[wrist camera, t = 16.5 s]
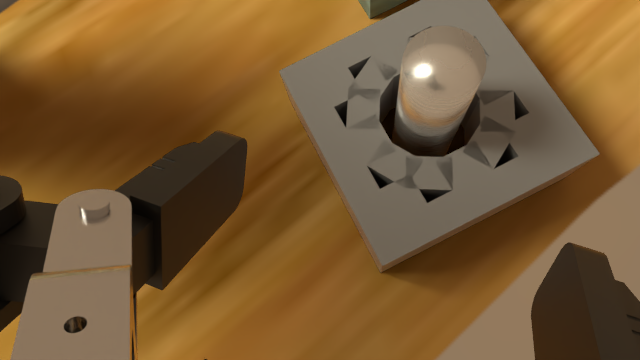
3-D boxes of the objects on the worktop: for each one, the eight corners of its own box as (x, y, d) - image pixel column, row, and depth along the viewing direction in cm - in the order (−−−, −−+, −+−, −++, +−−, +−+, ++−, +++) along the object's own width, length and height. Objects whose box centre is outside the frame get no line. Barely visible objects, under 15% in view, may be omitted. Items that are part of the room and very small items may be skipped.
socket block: (291, 103, 35) (278, 71, 30) (456, 21, 35) (469, -24, 30) (380, 272, 31) (382, 266, 26) (564, 177, 31) (600, 154, 26)
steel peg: (382, 130, 33) (387, 48, 23) (431, 105, 34) (458, 12, 23) (409, 177, 32) (427, 113, 22) (459, 151, 32) (502, 75, 22)
